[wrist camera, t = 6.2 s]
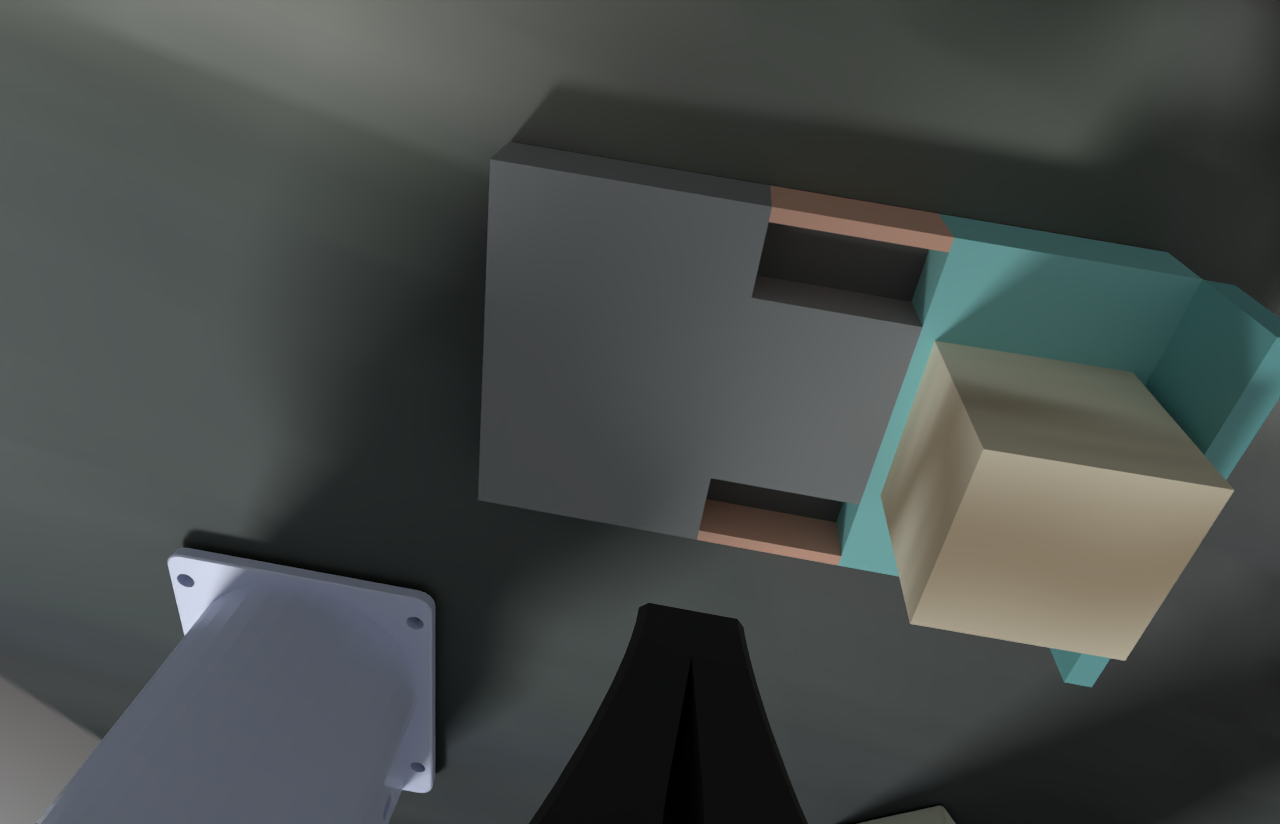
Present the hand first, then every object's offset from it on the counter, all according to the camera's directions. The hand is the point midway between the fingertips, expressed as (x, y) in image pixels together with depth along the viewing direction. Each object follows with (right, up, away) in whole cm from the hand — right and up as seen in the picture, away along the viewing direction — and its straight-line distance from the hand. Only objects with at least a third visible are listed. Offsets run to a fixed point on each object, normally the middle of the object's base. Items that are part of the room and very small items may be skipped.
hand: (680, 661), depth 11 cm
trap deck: (+3, +4, +8) cm, 9 cm away
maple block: (+7, +3, +6) cm, 10 cm away
